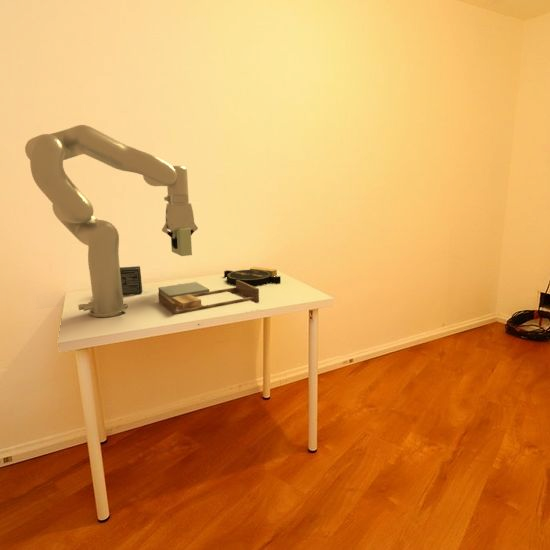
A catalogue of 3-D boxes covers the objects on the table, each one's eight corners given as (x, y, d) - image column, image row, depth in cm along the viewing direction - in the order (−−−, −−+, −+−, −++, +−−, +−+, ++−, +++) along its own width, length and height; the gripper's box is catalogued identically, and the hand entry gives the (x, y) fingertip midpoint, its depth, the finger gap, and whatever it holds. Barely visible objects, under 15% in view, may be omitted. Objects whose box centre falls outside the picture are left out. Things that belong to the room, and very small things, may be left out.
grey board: (169, 302, 144) (169, 295, 143) (158, 293, 155) (158, 287, 154) (209, 295, 152) (209, 289, 151) (196, 287, 163) (195, 281, 163)
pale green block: (181, 256, 143) (180, 229, 141) (171, 251, 153) (170, 226, 151) (191, 255, 145) (190, 228, 143) (181, 250, 155) (180, 226, 153)
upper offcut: (182, 309, 131) (182, 303, 131) (171, 302, 138) (171, 297, 138) (201, 305, 135) (201, 299, 135) (189, 299, 142) (189, 294, 142)
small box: (142, 290, 161) (140, 265, 158) (141, 294, 154) (139, 268, 152) (115, 291, 158) (113, 267, 156) (113, 296, 152) (110, 270, 150)
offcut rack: (174, 318, 126) (173, 303, 125) (159, 305, 140) (158, 292, 139) (258, 301, 143) (258, 288, 142) (238, 291, 157) (238, 279, 156)
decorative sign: (292, 270, 180) (266, 283, 159) (292, 277, 181) (267, 290, 160) (240, 265, 194) (210, 275, 172) (240, 271, 194) (210, 282, 173)
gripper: (159, 200, 137) (162, 251, 141) (203, 199, 146) (205, 247, 150) (153, 200, 143) (156, 248, 148) (195, 199, 152) (198, 244, 156)
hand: (181, 247), depth 149 cm, fingers closed on pale green block, 4 cm apart
